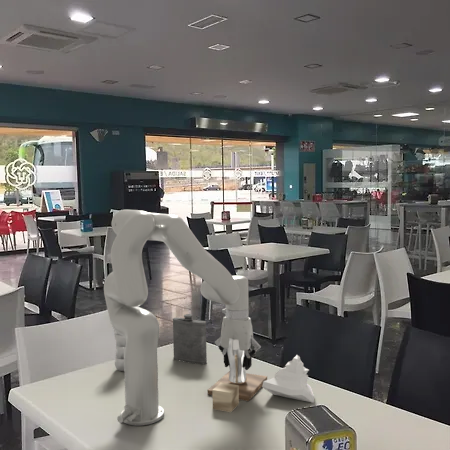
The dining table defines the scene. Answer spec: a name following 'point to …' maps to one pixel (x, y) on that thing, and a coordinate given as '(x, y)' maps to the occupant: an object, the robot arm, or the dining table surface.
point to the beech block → (225, 397)
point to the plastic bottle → (119, 351)
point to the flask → (189, 340)
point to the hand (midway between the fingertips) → (237, 366)
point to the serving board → (243, 385)
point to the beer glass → (236, 362)
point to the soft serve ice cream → (291, 382)
